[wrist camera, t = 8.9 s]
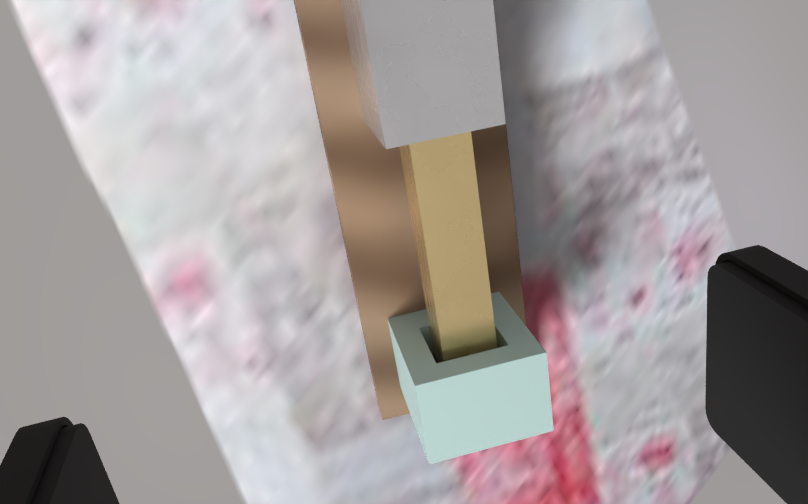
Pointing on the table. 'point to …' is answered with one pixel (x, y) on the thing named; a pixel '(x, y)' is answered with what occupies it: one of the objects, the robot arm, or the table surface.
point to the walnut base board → (393, 201)
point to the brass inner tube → (450, 245)
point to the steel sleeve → (425, 67)
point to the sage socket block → (473, 386)
